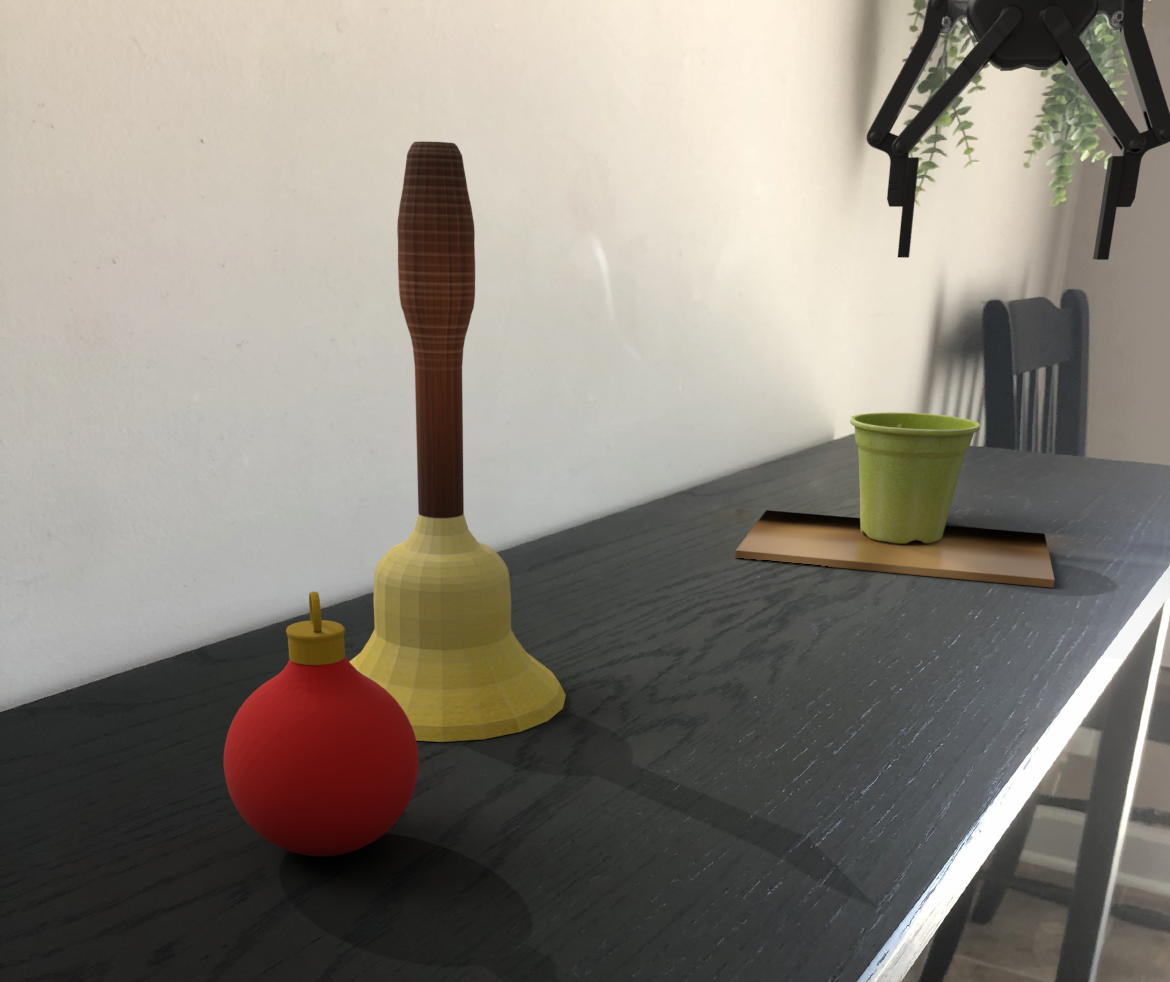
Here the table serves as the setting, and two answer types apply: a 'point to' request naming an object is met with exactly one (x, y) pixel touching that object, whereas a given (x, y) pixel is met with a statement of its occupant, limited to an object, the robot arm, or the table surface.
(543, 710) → the handbell
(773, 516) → the wooden board
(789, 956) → the table surface
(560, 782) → the table surface
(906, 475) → the plant pot
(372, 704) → the christmas ornament
